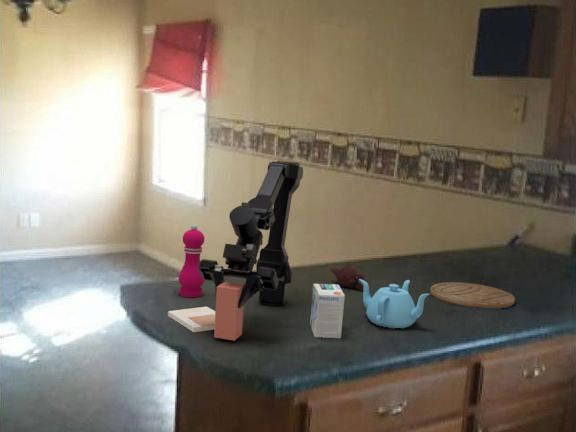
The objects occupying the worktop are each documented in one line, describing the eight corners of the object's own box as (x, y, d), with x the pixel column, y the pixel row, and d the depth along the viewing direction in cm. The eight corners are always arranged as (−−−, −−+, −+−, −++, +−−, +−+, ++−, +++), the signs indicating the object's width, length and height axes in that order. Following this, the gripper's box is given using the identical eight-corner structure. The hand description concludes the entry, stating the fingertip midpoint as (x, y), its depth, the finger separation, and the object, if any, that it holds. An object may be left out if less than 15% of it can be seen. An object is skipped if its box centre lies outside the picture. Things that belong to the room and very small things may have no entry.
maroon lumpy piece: (321, 262, 226) (354, 277, 215) (338, 254, 231) (372, 269, 219) (322, 282, 229) (355, 298, 218) (339, 274, 233) (373, 289, 222)
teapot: (372, 331, 182) (375, 292, 180) (354, 313, 196) (357, 276, 195) (427, 331, 185) (431, 292, 183) (405, 313, 200) (409, 277, 198)
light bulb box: (309, 323, 185) (312, 282, 183) (335, 325, 185) (338, 283, 184) (314, 337, 174) (317, 294, 172) (342, 338, 175) (345, 295, 173)
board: (167, 315, 183) (168, 310, 183) (206, 311, 189) (206, 305, 189) (193, 332, 172) (194, 326, 171) (234, 326, 178) (234, 321, 178)
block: (222, 330, 172) (224, 281, 170) (241, 334, 171) (244, 284, 169) (214, 337, 167) (216, 286, 165) (234, 340, 166) (237, 289, 164)
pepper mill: (199, 299, 200) (202, 227, 196) (174, 296, 201) (177, 224, 198) (207, 292, 207) (210, 223, 203) (182, 289, 208) (186, 220, 205)
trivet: (528, 302, 223) (529, 296, 222) (489, 316, 204) (490, 309, 204) (456, 284, 239) (456, 278, 239) (414, 295, 221) (414, 289, 221)
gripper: (202, 225, 171) (180, 281, 163) (278, 234, 166) (260, 293, 158) (213, 251, 180) (193, 306, 171) (285, 261, 175) (268, 318, 166)
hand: (227, 305), depth 166 cm, fingers closed on block, 5 cm apart
